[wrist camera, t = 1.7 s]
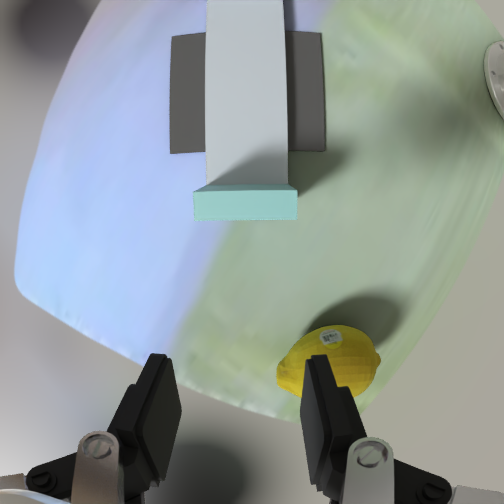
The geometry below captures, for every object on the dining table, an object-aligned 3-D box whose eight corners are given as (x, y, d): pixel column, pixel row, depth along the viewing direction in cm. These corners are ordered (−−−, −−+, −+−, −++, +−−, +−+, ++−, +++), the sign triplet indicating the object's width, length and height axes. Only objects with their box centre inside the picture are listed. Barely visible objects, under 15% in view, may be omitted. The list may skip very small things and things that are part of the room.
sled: (285, -13, 21) (293, -51, 14) (292, 205, 27) (304, 219, 21) (204, -11, 21) (192, -48, 14) (203, 206, 28) (187, 221, 21)
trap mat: (319, 34, 23) (319, 33, 23) (323, 151, 26) (324, 151, 26) (172, 37, 23) (171, 36, 23) (170, 153, 27) (170, 153, 26)
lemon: (375, 312, 31) (404, 353, 24) (359, 369, 33) (379, 414, 26) (278, 309, 31) (285, 354, 23) (270, 369, 33) (274, 419, 26)
